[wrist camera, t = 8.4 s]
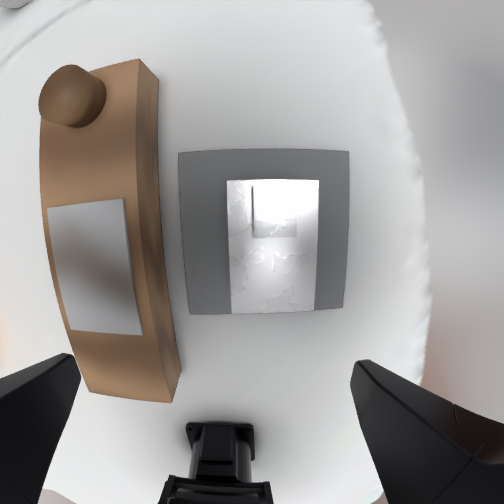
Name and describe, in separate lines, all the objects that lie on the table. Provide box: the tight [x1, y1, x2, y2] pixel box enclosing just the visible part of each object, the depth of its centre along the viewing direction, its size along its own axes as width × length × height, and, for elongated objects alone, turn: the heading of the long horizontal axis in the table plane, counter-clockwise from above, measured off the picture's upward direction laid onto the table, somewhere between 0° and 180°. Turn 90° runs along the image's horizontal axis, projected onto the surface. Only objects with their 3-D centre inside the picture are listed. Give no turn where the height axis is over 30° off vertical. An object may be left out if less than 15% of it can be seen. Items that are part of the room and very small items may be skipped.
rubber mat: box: [178, 149, 349, 314], centre depth 18 cm, size 11×11×1 cm
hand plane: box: [38, 59, 181, 403], centre depth 15 cm, size 22×7×6 cm, turn 1°
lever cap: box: [227, 180, 319, 314], centre depth 16 cm, size 7×4×5 cm, turn 1°
